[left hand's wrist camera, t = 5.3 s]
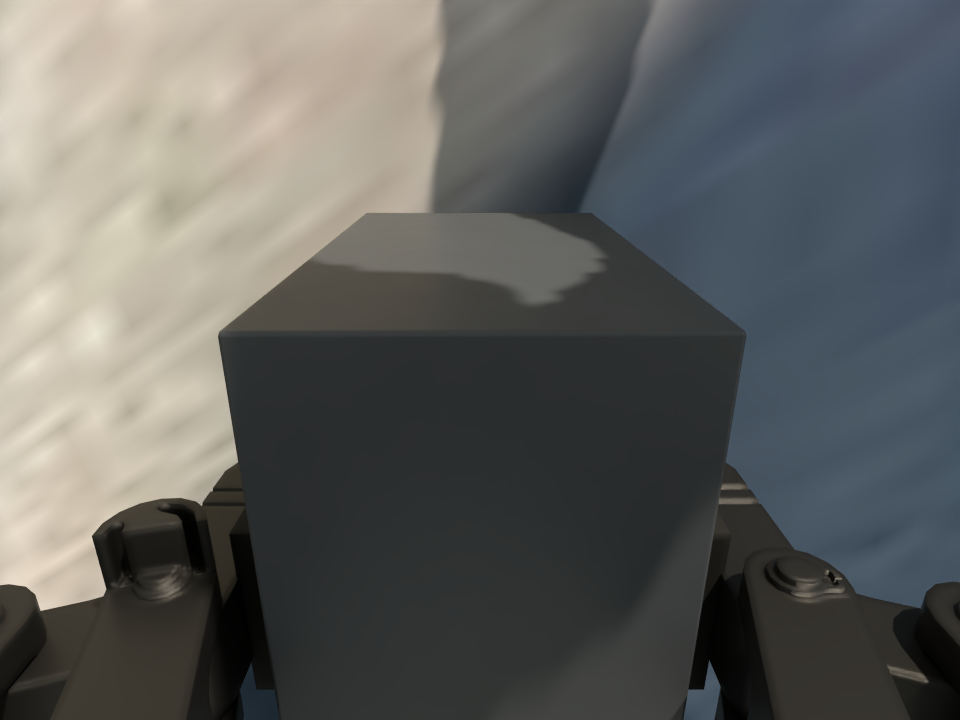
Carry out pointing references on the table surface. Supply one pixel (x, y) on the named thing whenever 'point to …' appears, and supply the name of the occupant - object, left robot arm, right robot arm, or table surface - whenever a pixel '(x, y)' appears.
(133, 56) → the table surface
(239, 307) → the table surface
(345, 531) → the beam
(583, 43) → the table surface
